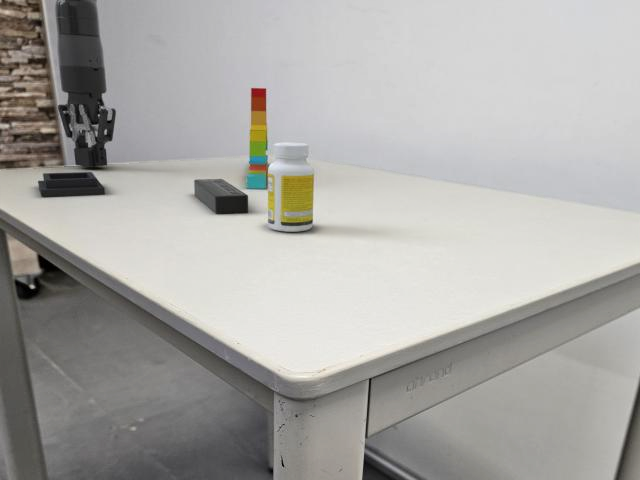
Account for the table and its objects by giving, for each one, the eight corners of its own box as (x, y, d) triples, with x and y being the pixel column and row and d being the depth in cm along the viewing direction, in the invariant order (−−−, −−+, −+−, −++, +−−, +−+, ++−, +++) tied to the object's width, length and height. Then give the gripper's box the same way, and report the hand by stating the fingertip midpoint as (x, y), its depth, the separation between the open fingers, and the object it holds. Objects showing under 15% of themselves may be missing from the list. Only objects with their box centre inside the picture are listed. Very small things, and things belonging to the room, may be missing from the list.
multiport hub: (216, 214, 82) (215, 196, 82) (194, 194, 95) (193, 179, 94) (249, 212, 84) (248, 195, 83) (223, 193, 96) (222, 178, 96)
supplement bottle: (321, 227, 77) (323, 144, 74) (294, 235, 73) (296, 147, 69) (286, 220, 80) (286, 140, 76) (258, 228, 76) (257, 143, 72)
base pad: (41, 197, 90) (39, 181, 89) (38, 187, 97) (36, 172, 96) (105, 194, 93) (103, 179, 92) (97, 185, 100) (96, 171, 99)
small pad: (75, 165, 117) (73, 148, 116) (93, 163, 120) (92, 146, 119) (89, 167, 115) (87, 150, 113) (107, 165, 118) (106, 148, 117)
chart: (252, 164, 130) (251, 86, 124) (267, 164, 130) (267, 86, 125) (245, 188, 102) (244, 89, 96) (265, 189, 102) (265, 90, 96)
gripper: (38, 62, 112) (50, 162, 118) (89, 64, 104) (98, 170, 110) (75, 64, 117) (85, 158, 124) (125, 65, 110) (133, 166, 116)
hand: (91, 163), depth 117 cm, fingers closed on small pad, 4 cm apart
